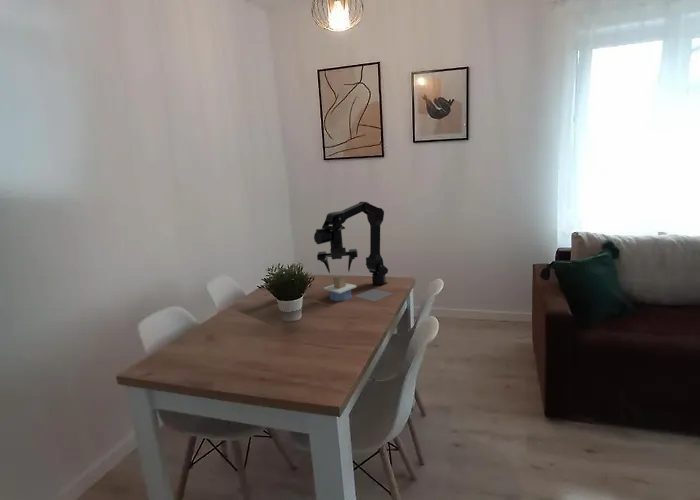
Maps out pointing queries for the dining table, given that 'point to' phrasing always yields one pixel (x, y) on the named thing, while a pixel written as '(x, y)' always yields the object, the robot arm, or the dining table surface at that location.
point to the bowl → (340, 296)
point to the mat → (373, 295)
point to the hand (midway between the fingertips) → (339, 272)
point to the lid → (339, 285)
